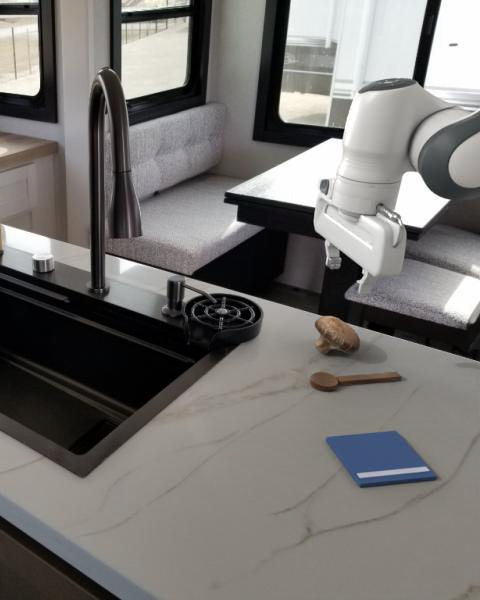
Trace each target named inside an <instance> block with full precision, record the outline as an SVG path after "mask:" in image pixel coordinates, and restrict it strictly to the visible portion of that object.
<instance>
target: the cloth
mask: <svg viewBox="0 0 480 600" xmlns="http://www.w3.org/2000/svg"><path fill="white" fill-rule="evenodd" d="M325 442H326V443H327V444H328V446H329V447H330V449H331V450H332V452H333V453H334V454H335V456H336V457H337V458H338V459H339V461H340V463H342V465H343V466H344V468H345V469H346V470H347V472H348V473H349V475H350V476H351V478H352V479H353V480H354V482H355V483H356V484H357V486H358V487H359V488H368V487H369V488H370V487H378V486H387V485H396V484H407V483H416V482H427V481H434V480H437V477H438V476H437V474H436V473H435V472H434V471H433V470H432V469H431V468H430V466H428V465H427V463H426V462H425V461H424V460H423V459H422V458H421V457H420V455H419V454H418V453H417V452H416V451H415V450H414V449H413V447H412V446H410V444H409V443H408V442H407V441H406V440H405V439H404V438H403V437H402V435H401V434H400V433H399V432H398V430H387V431H377V432H364V433H354V434H345V435H344V434H343V435H332V436H325Z"/></svg>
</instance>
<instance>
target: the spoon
mask: <svg viewBox="0 0 480 600" xmlns="http://www.w3.org/2000/svg"><path fill="white" fill-rule="evenodd" d="M400 381H402V375H401V374H400V373H399V372H398V371H386V372H385V371H384V372H373V373H363V374H350V375H348V374H347V375H338V376H334V374H331V373H330V372H326V371H316V372H313V373H311V375H310V377H309V385H310V386H311V387H312V388H313V389H315V390H317V391H319V392H324V393H330V392H335V391H336V390H337V389H338V386H351V385H352V386H353V385H363V384H364V385H365V384H375V383H386V382H400Z"/></svg>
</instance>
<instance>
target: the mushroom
mask: <svg viewBox="0 0 480 600" xmlns="http://www.w3.org/2000/svg"><path fill="white" fill-rule="evenodd" d="M314 328H315V330H317V332H318V334H319V337H318V339H316V340H315V341H314V347H315V348H316V350H317V351H318V352H319V353H320V354H321V355H326V354H328V353H330V352H332V351H334V350H338V351H341V352H344V353H346V354H347V355H351V356H353V355H355V354H357V353H358V352H359V351H360V347H361V339H360V336H359V334H358V333H357V331H356V330H355V329H354V328H353V327H352V326H350V325H349V324H347V323H346V322H345V321H343V320H341V319H340V318H339V317H336V316H332V315H323V316H321V317H317V319H316V320H315V321H314Z"/></svg>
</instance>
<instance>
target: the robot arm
mask: <svg viewBox="0 0 480 600" xmlns="http://www.w3.org/2000/svg"><path fill="white" fill-rule="evenodd" d="M341 141H342V143H341V145H342V155H341V160H340V163H339V165H338V166H337V169H336V172H335V176H325V177H320V178H319V179H318V181H317V191H318V192H319V193H318V195H317V198H316V201H315V202H316V203H315V209H314V216H313V226H314V231H315V232H316V233H317V234H318V235H320V236H321V237H323V238H324V239H325V241H324V246H325V247H324V248H325V254H326V259H325V265H326V267H327V268H329V269H330V270H339V269H340V268H341V264H342V258H341V257H340V252H341V253H343V254H345V256H347V257H348V258H349V259H351V261H353V262H355V263H356V264H357V265H359V266H360V267H361V268H362V272H361V273H362V275H363V276H362V278H361V279H359V280H356V281H355V287H354V291H356V292H357V293H358V294H359V295H361V296H368V295H370V294H371V293H372V289H373V285H374V284H375V283H376V282H377V281H378V280H379V279H381V278H382V279H383V278H395V277H397V276H398V275H400V273H401V271H402V270H403V266H404V265H403V264H404V261H405V254H406V245H407V230H406V227H405V225H404V223H403V221H402V216H401V214H400V213H399V212H396V211H395V210H396V205H397V201H398V197H399V193H400V189H401V186H402V181H403V176H404V175H405V174H407V173H409V172H410V173H418V174H419V175H420V177H421V179H422V181H423V182H424V184H425V186H426V187H427V189H428V190H429V191H430V192H432V193H433V194H434V195H436V196H438V197H439V198H441V199H444V200H449V201H469V200H474V199H476V198H479V197H480V108H478V109H476V110H475V111H473V112H471V111H469V110H468V109H465V108H463V107H461V106H458V105H456V104H453V103H450V102H448V101H445V100H444V99H441V98H440V97H438V96H436V95H434V94H433V93H431V92H430V91H428V90H427V89H425V88H424V87H422V85H420V84H419V82H418V81H417V80H415V79H412V78H406V77H399V78H397V77H389V78H383V79H378V80H374V81H371V82H368V83H366V84H365V85H363V86H361V88H359V89H358V91H357V92H356V94H355V96H354V98H353V100H352V102H351V105H350V108H349V111H348V115H347V118H346V122H345V127H344V131H343V136H342V140H341Z"/></svg>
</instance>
